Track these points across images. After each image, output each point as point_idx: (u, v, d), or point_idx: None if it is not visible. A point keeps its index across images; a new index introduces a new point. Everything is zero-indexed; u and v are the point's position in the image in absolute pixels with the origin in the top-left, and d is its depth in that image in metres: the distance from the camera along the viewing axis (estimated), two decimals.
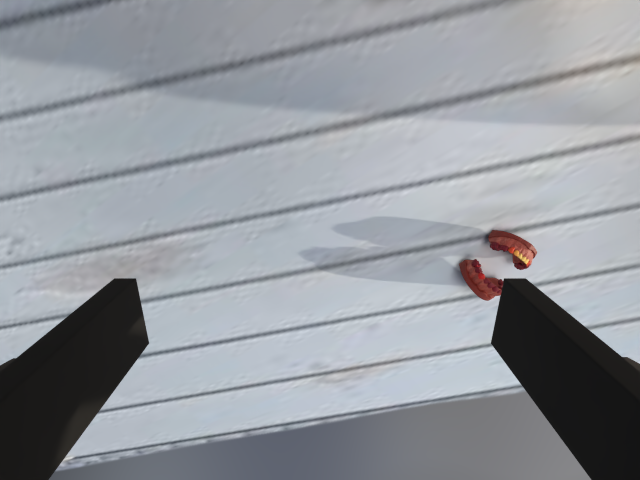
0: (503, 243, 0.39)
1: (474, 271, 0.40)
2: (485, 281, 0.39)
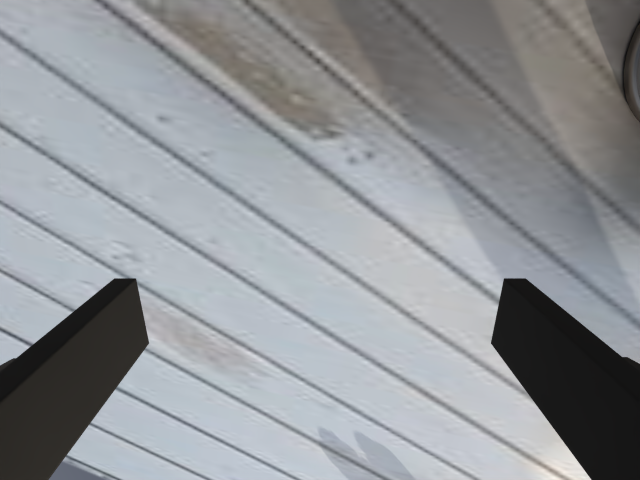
0: None
1: None
2: None
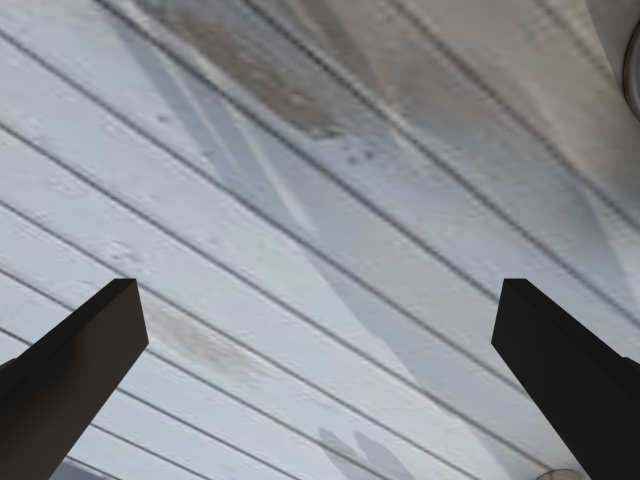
0: None
1: None
2: None
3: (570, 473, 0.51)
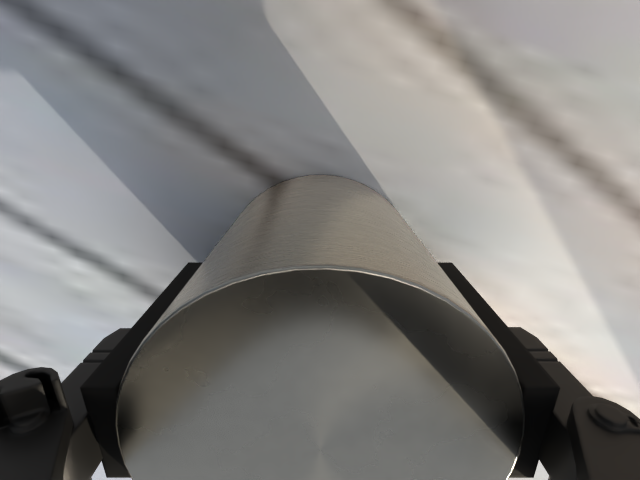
0: None
1: None
2: None
3: (334, 177, 0.14)
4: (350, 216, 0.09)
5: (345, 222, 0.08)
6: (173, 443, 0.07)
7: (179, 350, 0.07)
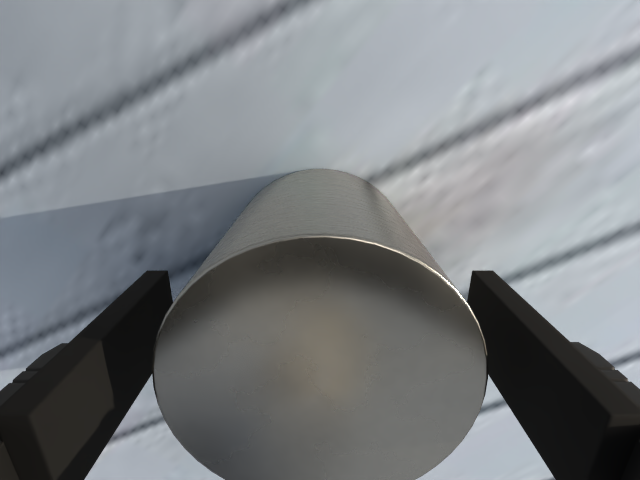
0: None
1: None
2: None
3: (333, 171, 0.16)
4: (345, 201, 0.11)
5: (341, 204, 0.10)
6: (199, 386, 0.09)
7: (205, 305, 0.08)
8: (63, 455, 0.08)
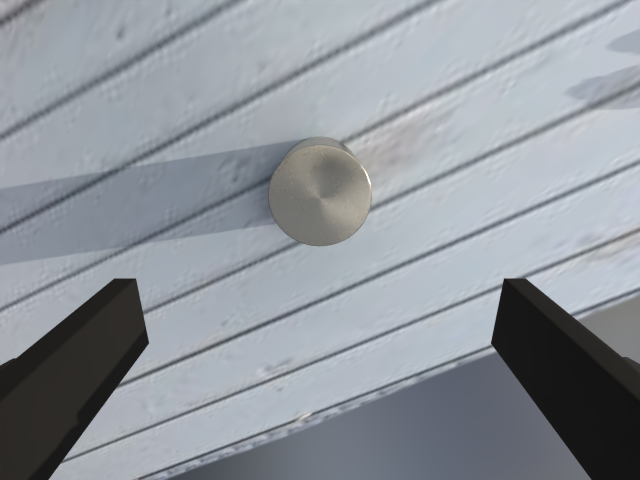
0: None
1: None
2: None
3: (325, 137, 0.36)
4: (328, 142, 0.31)
5: (327, 142, 0.30)
6: (282, 196, 0.29)
7: (287, 167, 0.28)
8: None
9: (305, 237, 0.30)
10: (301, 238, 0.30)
